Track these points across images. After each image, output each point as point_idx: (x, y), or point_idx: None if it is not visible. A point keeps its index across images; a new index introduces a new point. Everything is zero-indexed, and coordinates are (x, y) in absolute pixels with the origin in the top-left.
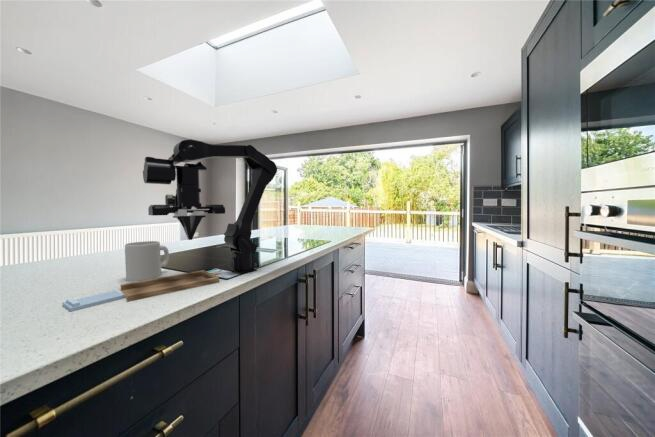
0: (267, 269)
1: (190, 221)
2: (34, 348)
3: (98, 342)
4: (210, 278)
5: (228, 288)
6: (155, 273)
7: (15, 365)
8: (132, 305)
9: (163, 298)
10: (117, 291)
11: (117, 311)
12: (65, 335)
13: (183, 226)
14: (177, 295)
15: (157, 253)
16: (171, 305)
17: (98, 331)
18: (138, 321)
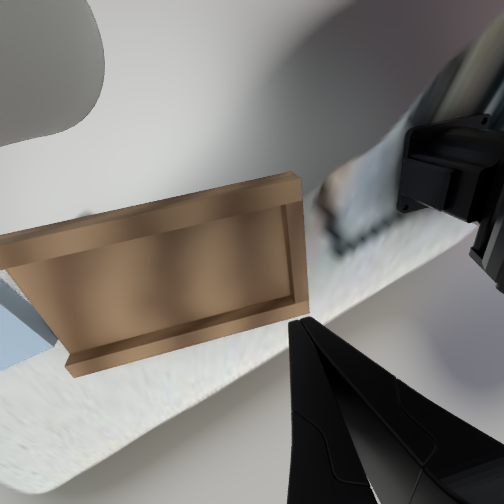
0: None
1: (426, 490)
2: (7, 462)
3: (98, 461)
4: (287, 310)
5: None
6: (76, 115)
7: (19, 484)
8: None
9: None
10: (5, 308)
11: (73, 382)
12: (28, 442)
13: (296, 452)
14: None
15: (30, 94)
16: (183, 383)
17: (80, 440)
18: (135, 425)
